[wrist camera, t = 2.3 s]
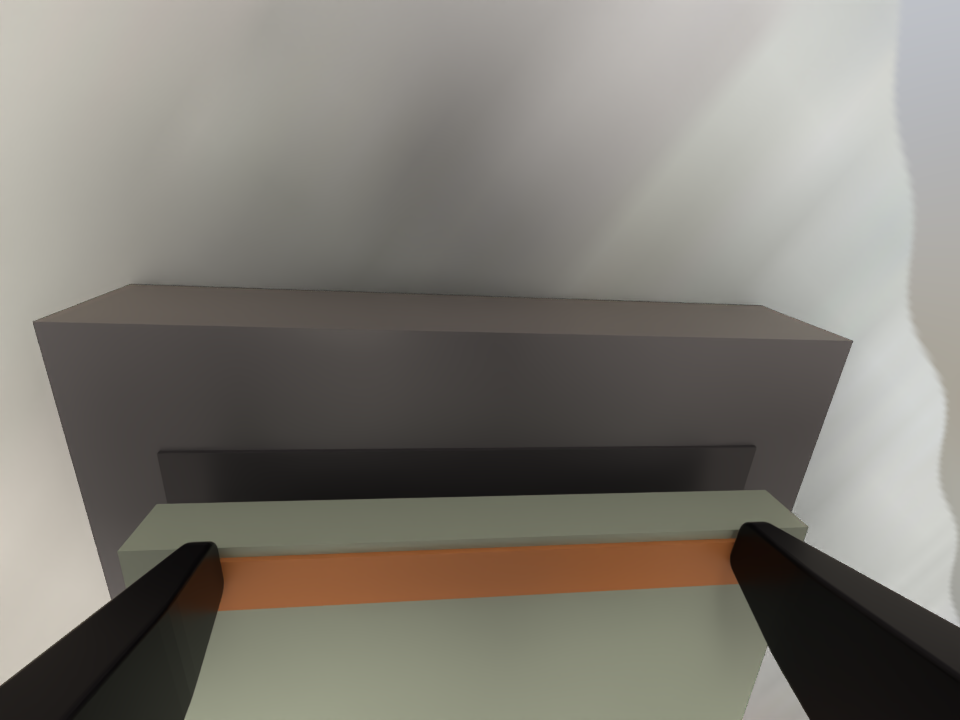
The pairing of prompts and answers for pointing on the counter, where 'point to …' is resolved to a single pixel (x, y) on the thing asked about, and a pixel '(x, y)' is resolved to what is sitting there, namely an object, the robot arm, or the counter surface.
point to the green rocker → (474, 606)
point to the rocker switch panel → (424, 398)
